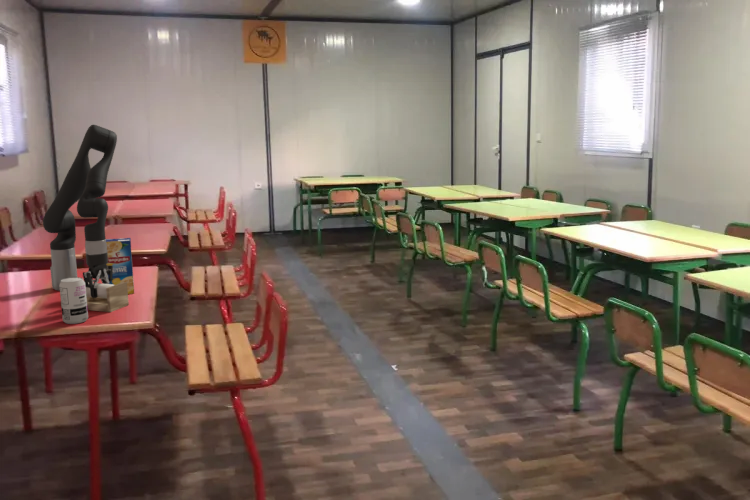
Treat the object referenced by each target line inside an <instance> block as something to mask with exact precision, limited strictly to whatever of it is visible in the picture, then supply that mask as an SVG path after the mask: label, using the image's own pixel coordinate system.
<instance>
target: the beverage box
mask: <svg viewBox="0 0 750 500" xmlns="http://www.w3.org/2000/svg"><path fill="white" fill-rule="evenodd" d="M131 240H132V239H131V237H120V238H107V239H106V244H107V254H108V263H107V264H106V265H111V266H113V276H112V281H110V282H109V284H113V285H117V284H120V283H123V282H127V289H128V295H133V294H135V281H134V269H133V257H132V241H131ZM108 278H109V275H108ZM104 280H105V279H104Z"/></svg>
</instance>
